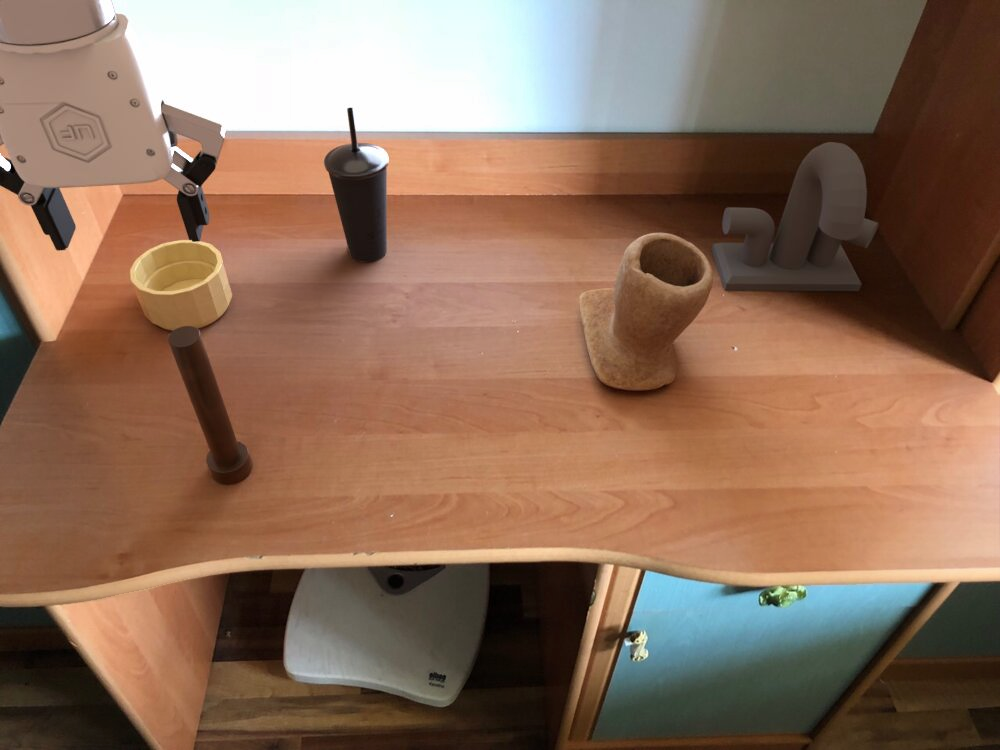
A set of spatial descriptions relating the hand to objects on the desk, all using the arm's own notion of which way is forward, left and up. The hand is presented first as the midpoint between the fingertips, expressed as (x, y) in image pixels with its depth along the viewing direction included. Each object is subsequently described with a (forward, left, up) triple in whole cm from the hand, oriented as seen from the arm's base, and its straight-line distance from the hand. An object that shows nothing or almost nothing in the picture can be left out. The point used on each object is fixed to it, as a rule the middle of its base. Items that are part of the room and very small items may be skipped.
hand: (133, 235), depth 61 cm
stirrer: (+1, -2, -27) cm, 27 cm away
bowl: (0, +25, -27) cm, 37 cm away
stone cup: (+47, -1, -27) cm, 54 cm away
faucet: (+71, +2, -27) cm, 76 cm away
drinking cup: (+23, +28, -27) cm, 45 cm away
